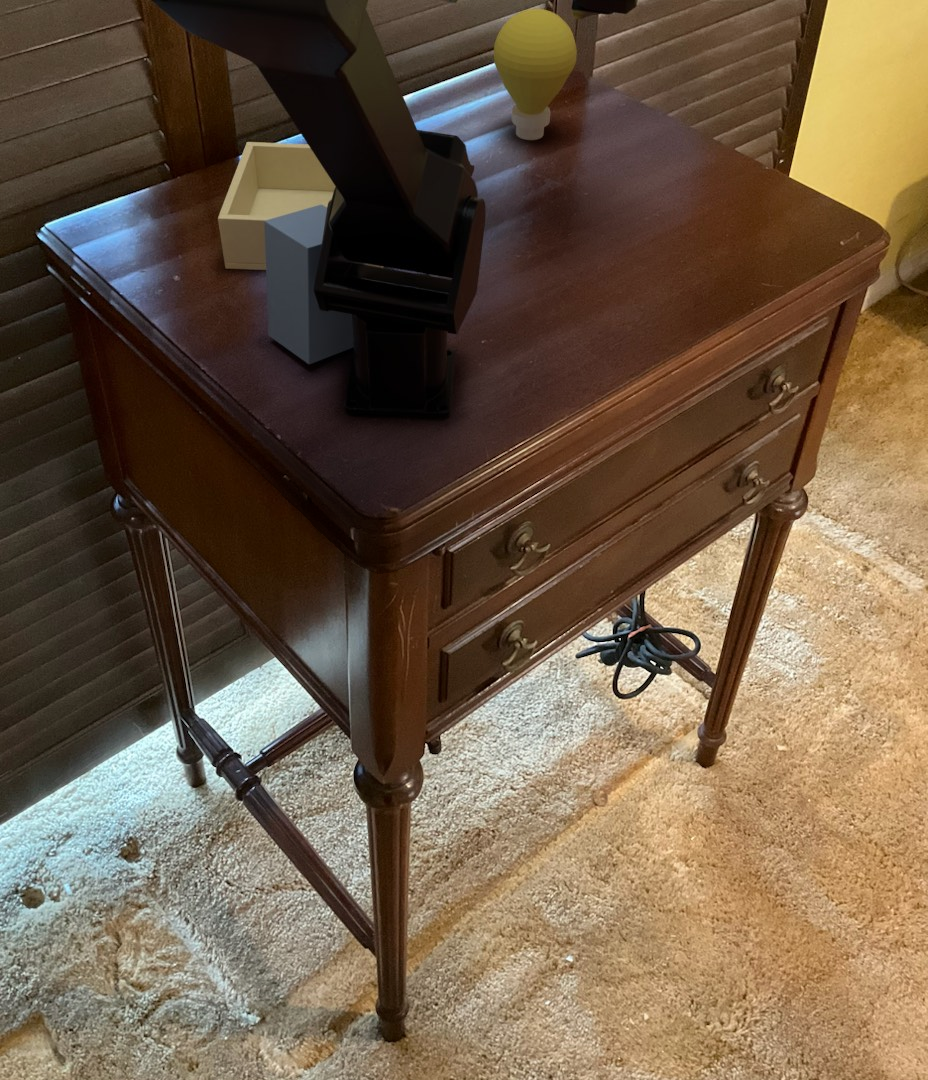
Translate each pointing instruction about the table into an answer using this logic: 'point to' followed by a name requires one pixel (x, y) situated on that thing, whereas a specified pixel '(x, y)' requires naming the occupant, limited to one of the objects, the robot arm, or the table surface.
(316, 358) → the blue block
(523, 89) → the light bulb
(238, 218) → the cream bin
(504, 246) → the table surface
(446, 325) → the robot arm
